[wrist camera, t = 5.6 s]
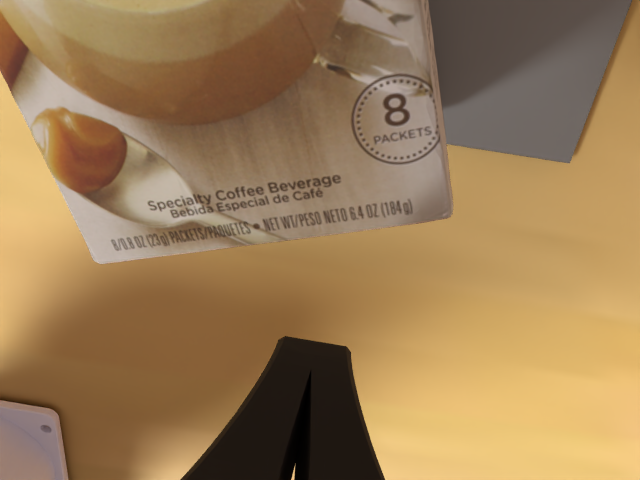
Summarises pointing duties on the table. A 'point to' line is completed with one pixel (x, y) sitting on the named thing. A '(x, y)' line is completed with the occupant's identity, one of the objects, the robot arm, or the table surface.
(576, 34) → the mat
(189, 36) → the coffee box
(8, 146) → the table surface
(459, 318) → the table surface
